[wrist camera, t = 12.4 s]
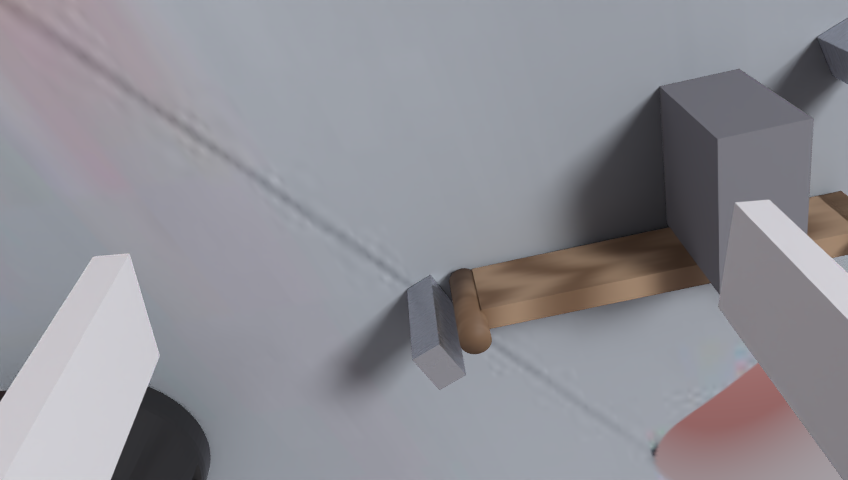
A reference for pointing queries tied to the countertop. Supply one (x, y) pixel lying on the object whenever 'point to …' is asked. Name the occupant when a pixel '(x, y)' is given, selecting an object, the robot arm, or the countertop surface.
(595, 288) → the gate
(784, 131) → the rubber block
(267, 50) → the countertop surface
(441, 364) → the grey blocks
